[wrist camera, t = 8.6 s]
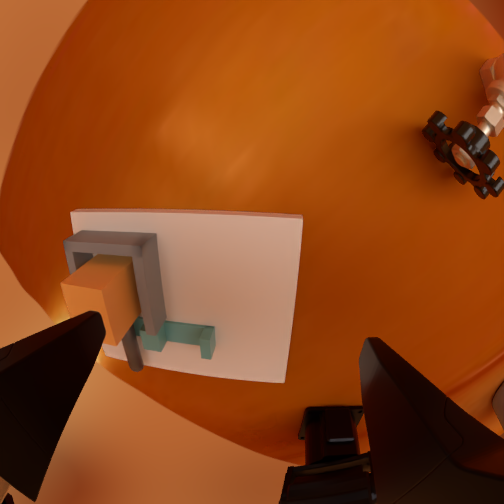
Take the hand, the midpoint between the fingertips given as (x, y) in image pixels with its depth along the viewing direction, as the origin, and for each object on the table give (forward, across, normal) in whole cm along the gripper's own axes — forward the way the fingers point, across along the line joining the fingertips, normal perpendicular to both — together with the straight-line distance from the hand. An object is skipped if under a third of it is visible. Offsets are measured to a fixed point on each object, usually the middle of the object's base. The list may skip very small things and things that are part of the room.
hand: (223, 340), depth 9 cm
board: (+12, +6, +6) cm, 15 cm away
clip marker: (+11, +6, +9) cm, 15 cm away
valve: (+12, -16, -11) cm, 23 cm away
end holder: (+11, +10, +4) cm, 16 cm away
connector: (+11, +10, +8) cm, 17 cm away
